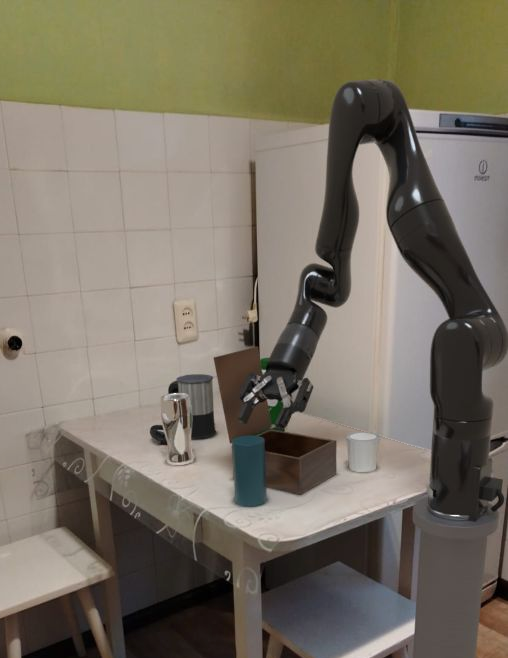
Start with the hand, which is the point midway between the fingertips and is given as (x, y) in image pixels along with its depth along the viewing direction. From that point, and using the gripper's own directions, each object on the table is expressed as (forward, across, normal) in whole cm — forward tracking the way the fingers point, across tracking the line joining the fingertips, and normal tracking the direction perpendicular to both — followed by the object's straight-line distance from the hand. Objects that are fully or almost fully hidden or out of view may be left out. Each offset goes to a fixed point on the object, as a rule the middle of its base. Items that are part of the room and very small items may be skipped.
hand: (259, 425), depth 119 cm
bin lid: (-9, -11, +6) cm, 16 cm away
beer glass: (+5, -28, +15) cm, 32 cm away
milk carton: (-11, -21, +31) cm, 39 cm away
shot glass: (-7, +9, +27) cm, 29 cm away
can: (+12, 0, +8) cm, 14 cm away
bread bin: (+3, -2, +17) cm, 18 cm away
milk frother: (-5, -40, +25) cm, 47 cm away
